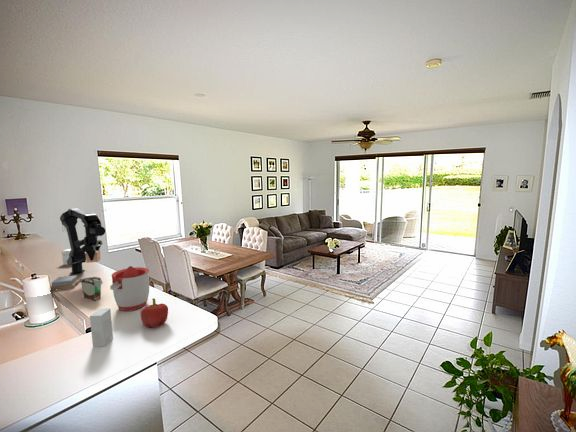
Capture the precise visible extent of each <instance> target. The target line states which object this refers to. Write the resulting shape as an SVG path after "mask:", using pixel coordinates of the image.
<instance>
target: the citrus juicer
mask: <svg viewBox="0 0 576 432" xmlns="http://www.w3.org/2000/svg"><path fill="white" fill-rule="evenodd" d="M149 272H150V269H149V268H146V267H141V266H140V267H139V266H138V267H134V266H131V265H130V266H128V267H127V268H123V269H121V270H117V271H114V272H113V273H112V274H111V276H110V277H111V280H112V281H111V282H112V284H111V285H110V290H111V291H112V293H113V298H114V302H115V303H116V306H117V308H118V309H119V310H121V311H125V312H126V311H130V310H132V311H134V310H138V309H140V308H144V307H145V306H146V305H147V303H148V300H149V297H150V296H149V295H150V281H149V280H150V277H149Z"/></svg>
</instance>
